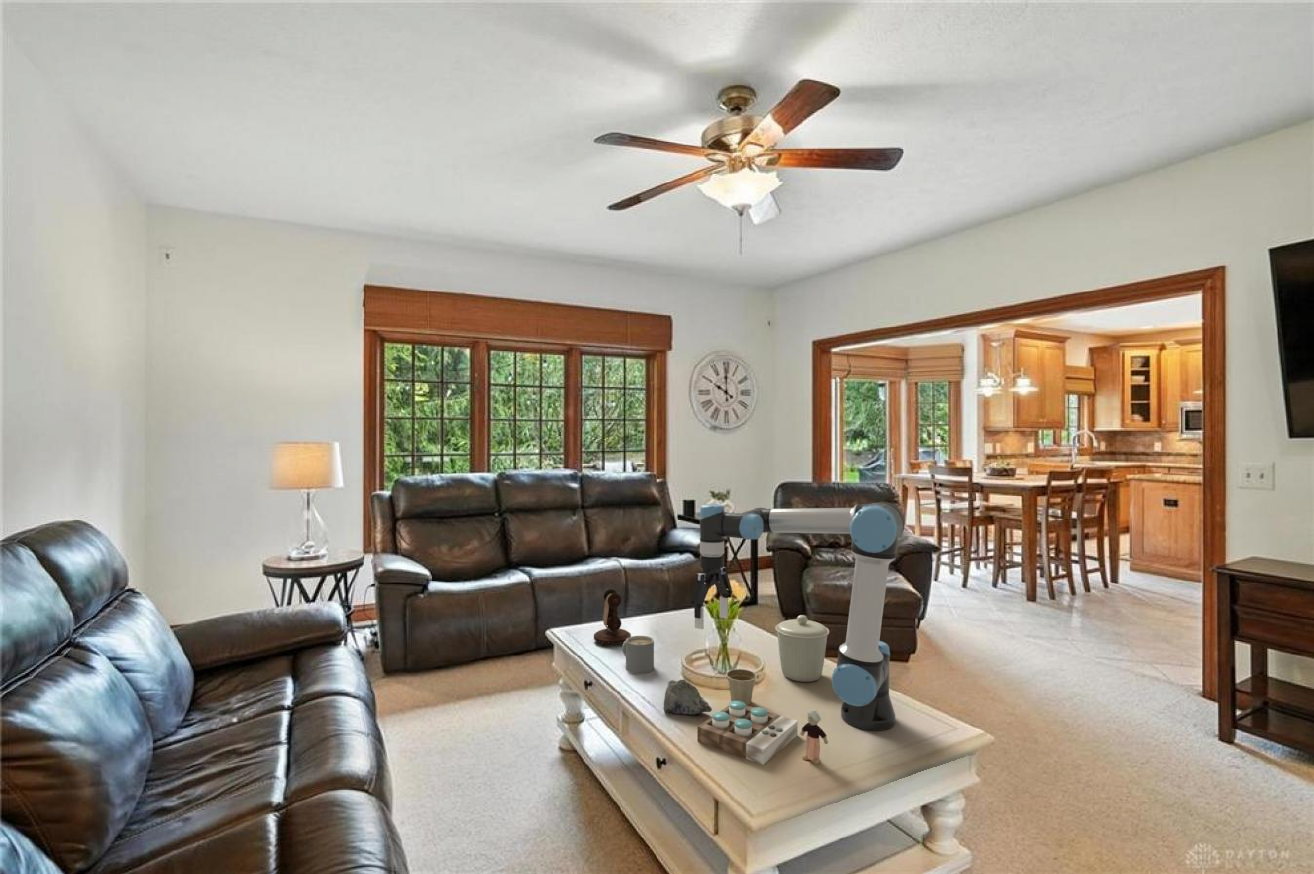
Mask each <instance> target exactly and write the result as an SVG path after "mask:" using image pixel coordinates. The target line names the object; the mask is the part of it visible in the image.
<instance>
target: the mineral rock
mask: <svg viewBox="0 0 1314 874" xmlns="http://www.w3.org/2000/svg"><path fill="white" fill-rule="evenodd" d="M712 711H713V708H712V707H711V706H710V704H709V702H707V701H706V700H705V699H704V697H702V696H701V693H700V692H699V690H698V688H697V687H696V686H694V685H693V684H691V683H690V682H688V681H686V679H679V680H674V679H670V680H669V681H668V684H667V686H666V688H665V692H664V698H663V712H665V713H674V714H679V715H680V714H683V715H692V716H693V715H697V714H703V713H711V712H712Z"/></svg>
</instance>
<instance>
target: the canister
mask: <svg viewBox="0 0 1314 874" xmlns="http://www.w3.org/2000/svg"><path fill="white" fill-rule="evenodd" d="M774 628H775V631H776V632H777V642H778V651H779V661H780V666H781V667H780V668H781V671H782V674H783V675H784V676H785V677H786V678H787V679H789V680H792V681H796V682H801V683H803V682H804V683H811V682H815V681H817V680H819V679H820V677H821V676H822V674H823V671H824V665H825V664H824V663H825V658H826V648H827V642H828V641H827V639H828V635H829V634H830V630H829V628H828V627H826V626H825V625H823V624H822V623H820V622H817V621H813V620H809V619H808V617H807V616H806V615H804V614H800V615H798V616H797V617H796V618H794V619H787V620H783V621H781V622H779V623H778V624H776V625H775V627H774Z"/></svg>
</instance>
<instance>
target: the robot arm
mask: <svg viewBox="0 0 1314 874" xmlns="http://www.w3.org/2000/svg"><path fill="white" fill-rule="evenodd" d="M905 521H906V520H905V518H904V515H903V513H902V511H901V510H900V509H899V508H898V507H897V506H896V505H895V504H892V503H889V502H886V501H878V502H874V503H873V502H872V503H864V504H863V503H861V504H860V503H859V504H855V505H854V506H853V507H829V508H828V507H825V508H824V507H817V508H816V507H815V508H814V507H811V508H809V507H808V508H807V507H806V508H798V507H797V508H765V507H756V508H754V509H750V510H747V511H744V512H729V511H726V509H725V506H724V505H723V504H716V503H707V504H703V505H701V506H700V512H699V553H700V556H699V567H700V568H702V573H699V572H697V573H696V574H695V582H694V585H693V590H692V594H691V597H690V601H689V606H691V607H693V609H694V613H693V615H694V628H695V629H697V630H698V629H699V630H704V626H705V625H704V622H705V621H704V617H705V616H704V615H705V614H704V613H705V612H704V607H703V604H704V602H705V600H706V597H707V595H708V592H709V591H710V589H711V588H712V587H713V586H714V585H715V587H716V589H717V590H718V592H719V594H720V596H719V618H720V619H725V620H728V619H729V598H730V599H731V598H732V594H733V588H732V585H731V582H730V579H729V576H728V568H727V566H725V556H724V554H725V538H735V539H742V540H743V539H745V540H759V539H760V538H761V537H762V535H763V534H764V533H765V534H771V533H775V534H776V533H777V534H780V533H784V534H785V533H787V534H788V533H789V534H790V533H791V534H793V533H794V534H839V535H840V534H845V535H846V534H848V535H849V534H850V537H851V548H850V551H851V554H852V555H853V556H854V558H855V562H854V569H853V570H854V571H853V579H852V585H851V586H852V587H851V594H850V595H851V596H850V604H849V611H848V618H847V619H848V621H847V629H846V636H845V642H844V643H842V644H840V645H839V648H838V655H837V663H836V668H834V670H833V672H832V675H831V686H832V689H833V691H834V693H835V694H836V696H837V697H838V698H839V699H840V700H841V701H843V702H842V704H841V708H840V717H841V719H842V720H843V721H844V722H845V723H847V724H849V725H851V726H853V727H855V728H858V729H863V730H868V731H886V730H890V729H892V728H893V727H895V725H896V712H895V710H894V706H893V704H892V700H891V697H890V657H891V653H890V646H889V644H887V643H886V642H884V641H881V640H880V638H881V630H882V621H883V613H884V605H885V599H886V592H887V591H886V589H887V582H888V575H889V574H888V573H889V566H890V564H891V563H892V562H893V561H895V560H896V558H897V552H898V544H899V539H900V537H901V536H902V535H903V533H904V529H905V526H906V522H905Z"/></svg>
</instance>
